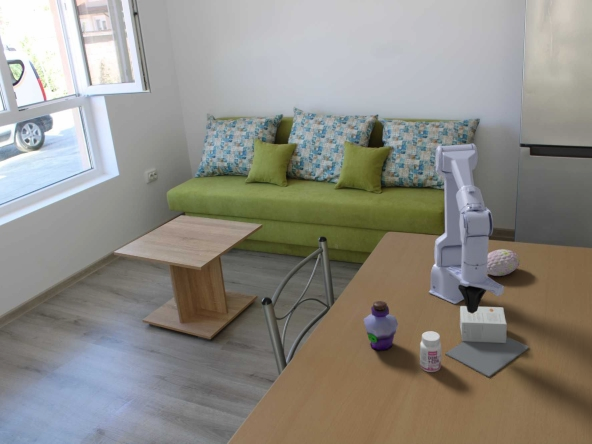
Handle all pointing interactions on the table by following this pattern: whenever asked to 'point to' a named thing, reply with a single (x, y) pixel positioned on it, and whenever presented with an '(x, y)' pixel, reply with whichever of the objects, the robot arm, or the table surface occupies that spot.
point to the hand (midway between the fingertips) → (472, 311)
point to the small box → (483, 325)
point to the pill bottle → (430, 351)
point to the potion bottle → (380, 326)
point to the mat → (487, 355)
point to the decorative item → (502, 262)
